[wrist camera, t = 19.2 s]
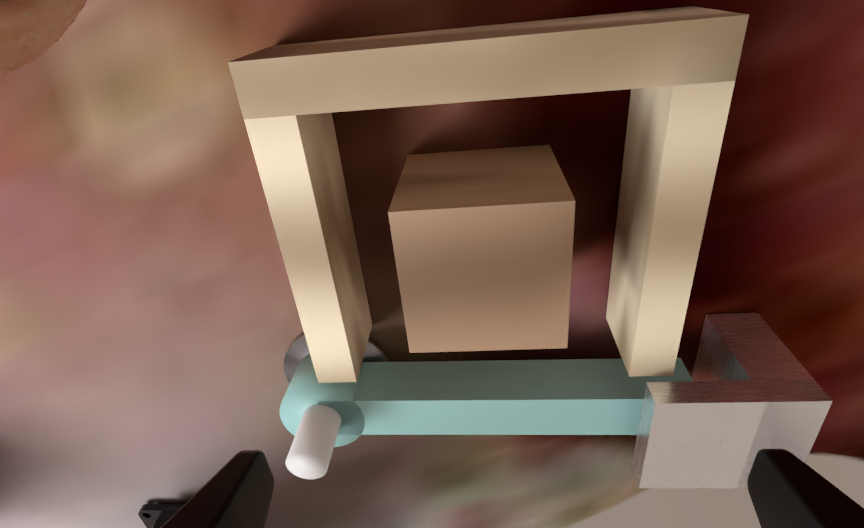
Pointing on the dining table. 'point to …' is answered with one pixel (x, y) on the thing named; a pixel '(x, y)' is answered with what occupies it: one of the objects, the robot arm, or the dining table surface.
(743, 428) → the grey hooked piece
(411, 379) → the link
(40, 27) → the ceramic jug
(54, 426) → the dining table surface
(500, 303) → the light wood block
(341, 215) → the cream c-clamp frame
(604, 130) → the dining table surface
